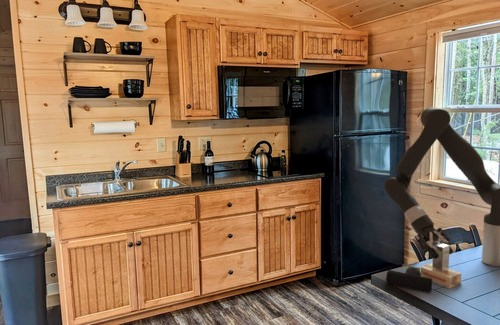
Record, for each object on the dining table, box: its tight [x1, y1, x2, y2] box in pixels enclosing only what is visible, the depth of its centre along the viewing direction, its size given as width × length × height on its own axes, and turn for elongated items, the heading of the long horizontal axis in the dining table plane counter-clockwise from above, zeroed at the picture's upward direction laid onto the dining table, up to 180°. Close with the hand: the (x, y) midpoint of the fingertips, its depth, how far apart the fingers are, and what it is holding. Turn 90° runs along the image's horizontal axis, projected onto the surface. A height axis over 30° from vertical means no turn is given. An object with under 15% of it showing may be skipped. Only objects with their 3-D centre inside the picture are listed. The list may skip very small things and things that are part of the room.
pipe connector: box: [385, 265, 433, 294], centre depth 143 cm, size 12×5×15 cm
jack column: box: [431, 242, 450, 273], centre depth 144 cm, size 4×4×10 cm
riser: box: [420, 262, 462, 289], centre depth 145 cm, size 7×12×4 cm, turn 29°
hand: (444, 255), depth 143 cm, fingers open, 8 cm apart
